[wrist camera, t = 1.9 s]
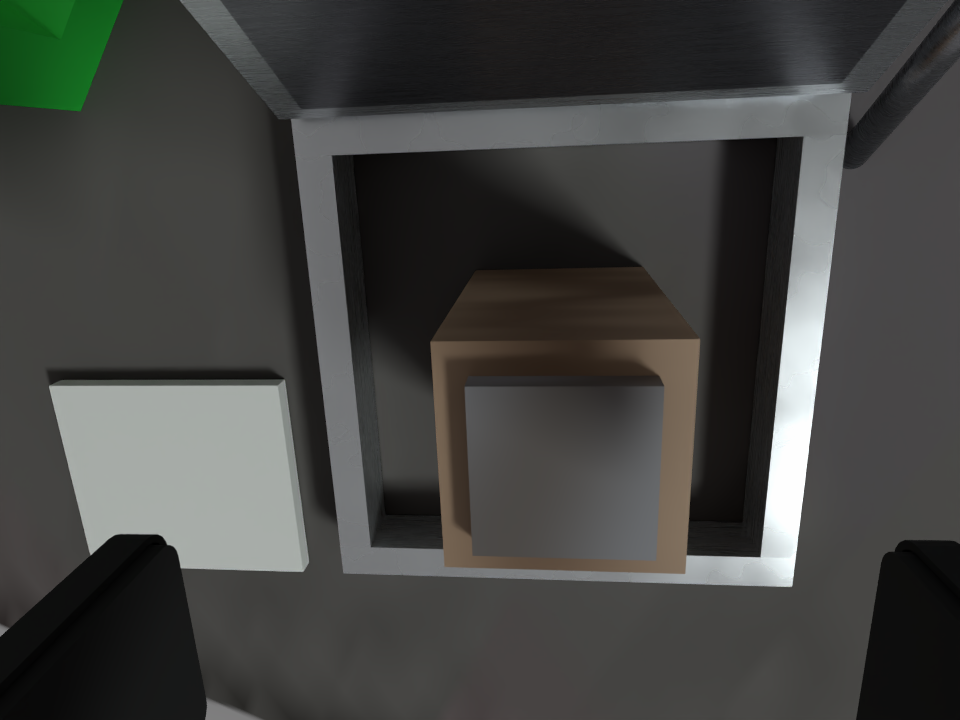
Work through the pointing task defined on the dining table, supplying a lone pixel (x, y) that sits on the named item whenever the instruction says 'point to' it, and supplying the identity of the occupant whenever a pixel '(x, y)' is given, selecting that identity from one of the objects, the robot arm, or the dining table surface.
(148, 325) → the dining table surface
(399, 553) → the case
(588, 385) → the block
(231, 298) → the dining table surface
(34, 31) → the mechanical part
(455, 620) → the dining table surface
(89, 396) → the mat
